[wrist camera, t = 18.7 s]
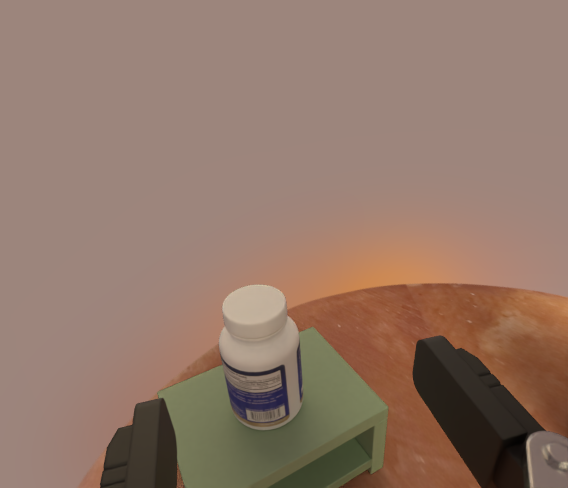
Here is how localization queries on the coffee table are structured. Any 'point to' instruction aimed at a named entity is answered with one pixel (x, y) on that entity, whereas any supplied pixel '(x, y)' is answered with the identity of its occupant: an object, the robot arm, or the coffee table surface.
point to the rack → (281, 429)
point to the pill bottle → (261, 357)
